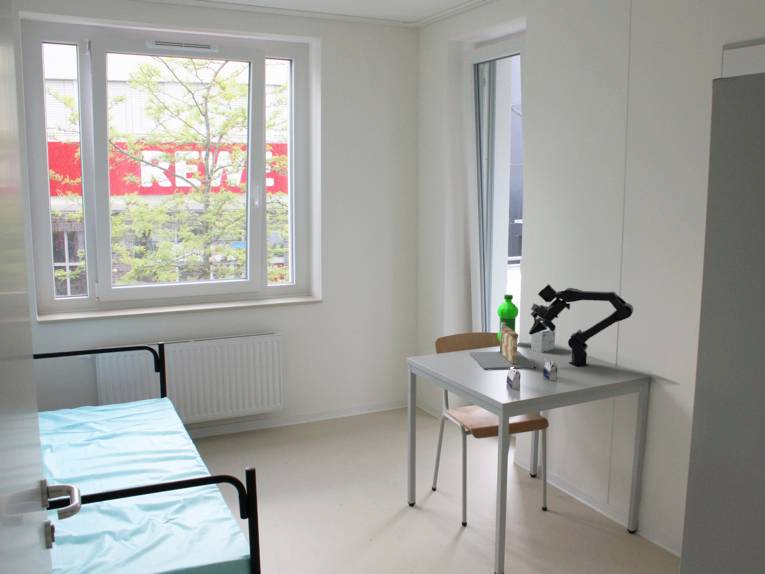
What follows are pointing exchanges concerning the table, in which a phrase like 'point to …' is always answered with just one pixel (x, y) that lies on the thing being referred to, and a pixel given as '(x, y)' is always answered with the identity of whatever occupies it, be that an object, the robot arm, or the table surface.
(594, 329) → the robot arm
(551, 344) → the light bulb box
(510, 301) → the plastic bottle
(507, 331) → the gate panel
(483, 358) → the base
